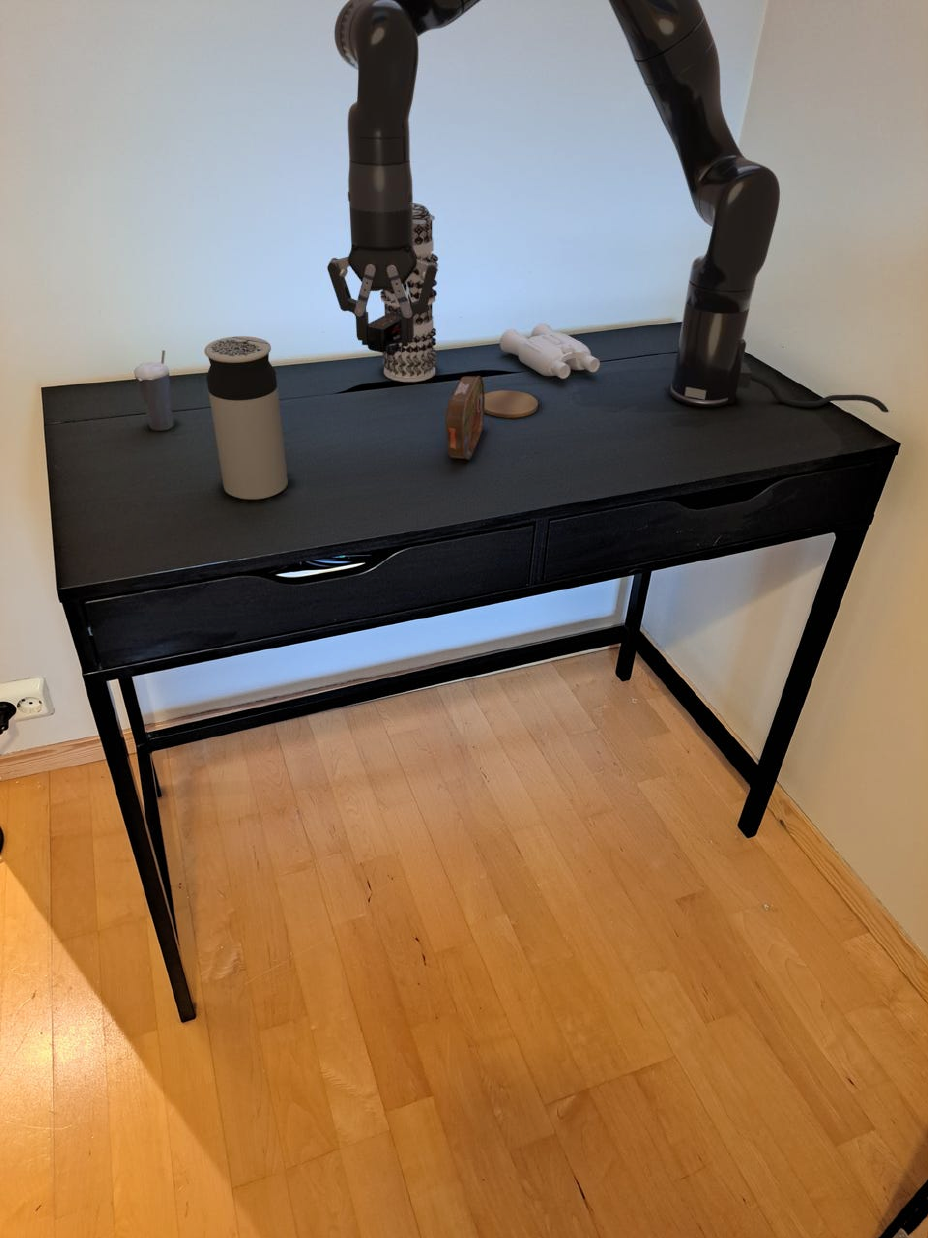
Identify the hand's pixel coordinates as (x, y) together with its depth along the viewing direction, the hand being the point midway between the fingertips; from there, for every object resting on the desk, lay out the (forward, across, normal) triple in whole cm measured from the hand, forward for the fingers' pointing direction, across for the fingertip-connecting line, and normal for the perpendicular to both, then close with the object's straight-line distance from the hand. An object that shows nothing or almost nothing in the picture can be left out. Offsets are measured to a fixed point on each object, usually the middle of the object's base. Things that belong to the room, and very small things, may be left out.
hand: (385, 343), depth 116 cm
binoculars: (+14, -24, -31) cm, 41 cm away
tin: (+14, -11, 0) cm, 18 cm away
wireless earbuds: (+1, -1, 0) cm, 1 cm away
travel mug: (+14, +15, +14) cm, 25 cm away
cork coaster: (+14, -17, -14) cm, 26 cm away
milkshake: (+14, +32, -3) cm, 35 cm away
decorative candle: (+14, -1, -26) cm, 30 cm away
